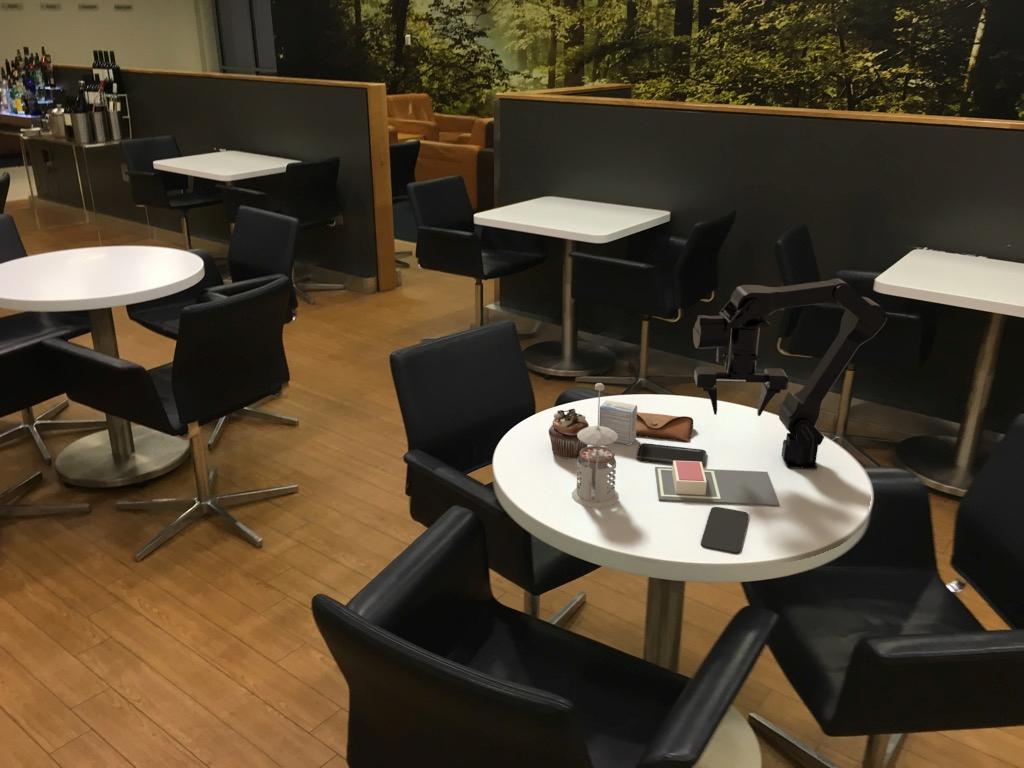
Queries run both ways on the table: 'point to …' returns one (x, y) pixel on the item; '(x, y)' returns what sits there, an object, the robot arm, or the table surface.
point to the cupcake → (567, 433)
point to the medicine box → (619, 420)
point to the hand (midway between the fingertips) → (736, 414)
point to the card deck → (689, 477)
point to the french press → (596, 466)
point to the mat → (722, 488)
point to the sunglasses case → (664, 426)
